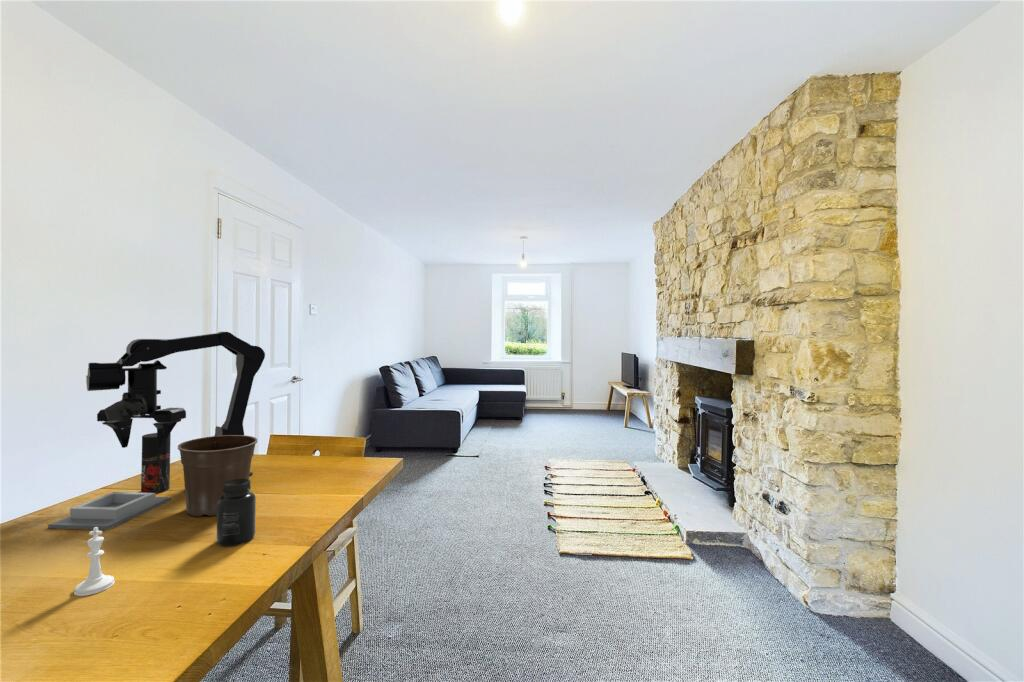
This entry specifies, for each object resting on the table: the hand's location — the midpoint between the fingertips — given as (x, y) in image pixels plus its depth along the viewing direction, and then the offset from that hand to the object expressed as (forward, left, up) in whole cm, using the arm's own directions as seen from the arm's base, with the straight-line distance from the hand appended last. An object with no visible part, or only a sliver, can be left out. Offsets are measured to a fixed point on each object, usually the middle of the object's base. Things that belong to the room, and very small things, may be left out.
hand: (142, 447), depth 112 cm
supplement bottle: (-39, +22, -13) cm, 46 cm away
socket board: (-3, +11, -13) cm, 17 cm away
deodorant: (0, -4, -13) cm, 14 cm away
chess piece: (-27, +40, -13) cm, 49 cm away
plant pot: (-24, +6, -13) cm, 28 cm away
